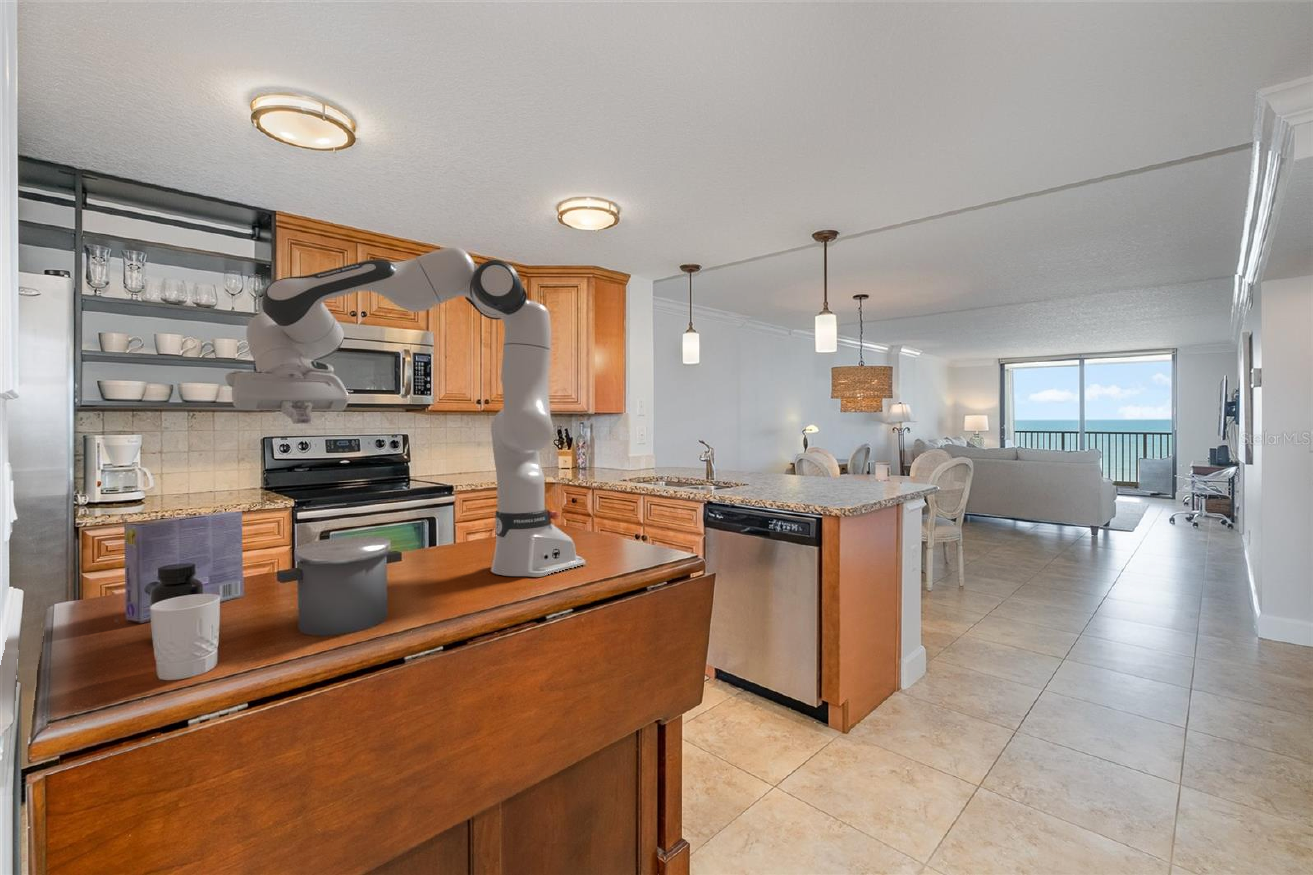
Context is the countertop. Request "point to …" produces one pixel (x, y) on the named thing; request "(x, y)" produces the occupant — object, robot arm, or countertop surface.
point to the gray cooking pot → (341, 594)
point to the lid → (342, 550)
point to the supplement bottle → (175, 583)
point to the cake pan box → (183, 556)
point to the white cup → (185, 635)
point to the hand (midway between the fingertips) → (302, 421)
